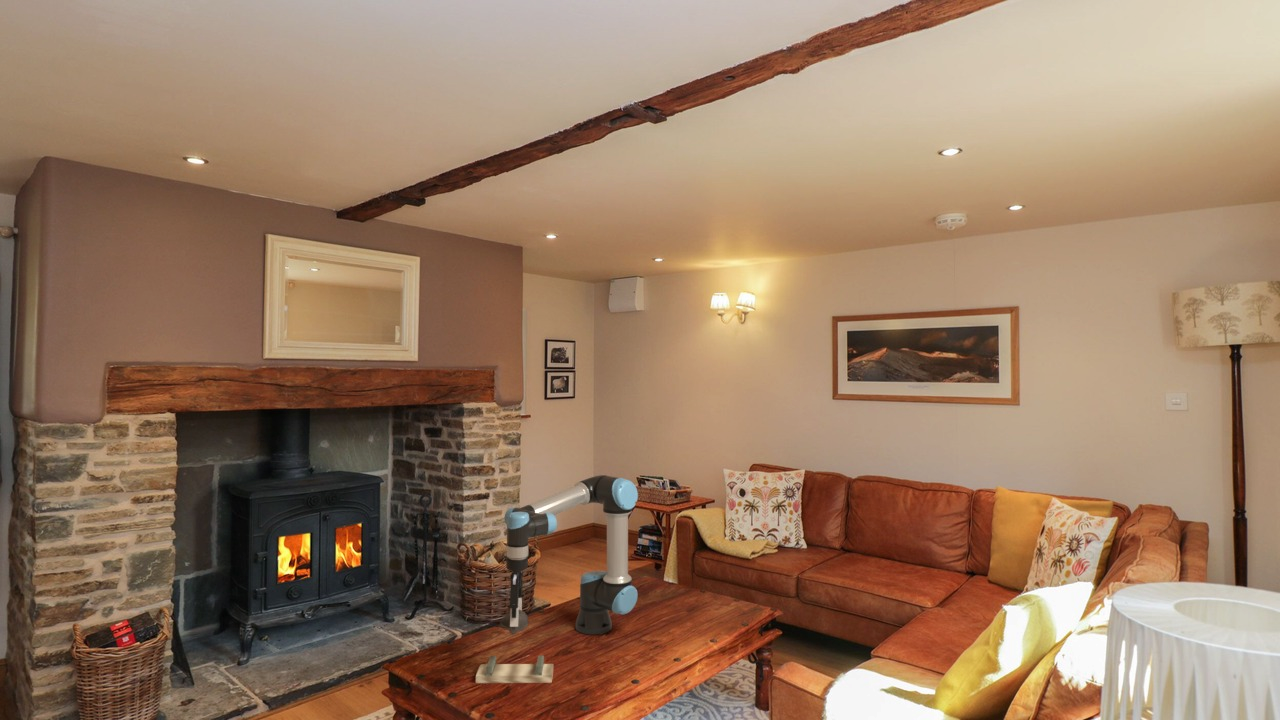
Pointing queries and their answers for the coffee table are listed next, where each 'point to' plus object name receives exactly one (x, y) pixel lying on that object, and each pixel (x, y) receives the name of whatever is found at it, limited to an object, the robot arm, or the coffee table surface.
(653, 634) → the coffee table surface
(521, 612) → the stone
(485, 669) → the cream and green rack
